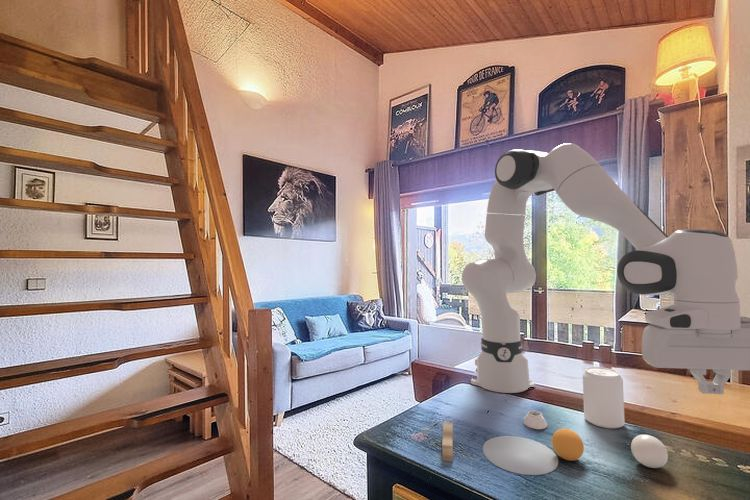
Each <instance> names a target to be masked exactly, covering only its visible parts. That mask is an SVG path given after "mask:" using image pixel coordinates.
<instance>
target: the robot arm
mask: <svg viewBox="0 0 750 500" xmlns="http://www.w3.org/2000/svg"><path fill="white" fill-rule="evenodd" d="M494 177H495V181H494V183H493V184H492V185H491V190H490V193H489V197H488V201H487V207H486V217H485V218H486V219H485V228H484V238H485V240H486V242H487V243H488V244H489V245H491V246H492V249H493V251H494V253H493V254H494V258H489V259H488V258H487V259H486V258H484V259H479V260H474V261H472V262H469V263H467V264H466V265H465V266H464V267H463V270H462V274H461V280H462V284H463V287H464V289H465V290H466V291H467V292H468V293H470V295H472V296H473V298H474V299H475V301H476V303H477V305H478V308H479V312H480V315H481V329H482V331H481V332H482V334H481V335H482V337H481V341H480V350H481V352H480V353H479V354H478V356H477V358H476V357H475V359H474V365H475V366H477V367H476V368H475V370H474V373H477V379H473V378H472V377H471V379H470V384H471V385H474V386H477V387H480V388H482V389H485V390H488V391H491V392H494V393H495V392H496V393H504V394H517V393H522V392H525V391H527V390H529V389H530V388H529V387H532V386H535V387H536V383H535V382H534V381H533V380H531V379H530V374H529V373H530V372H529V371H530V370H529V362H528V358H526V357H525V355H524V354H523V341H522V339H521V322H520V321H521V320H520V315H519V313H518V311H517V310H516V309H514V308H512V306H511V305H510V303H509V300H508V298H507V296H508V294H518V293H522V292H524V291H526V290H529V289H531V288H532V287H533V286H534V285H535V283H536V279H537V272H536V269H535V267H534V266H533V264H532V263H531V262H530V261H529V259H528V257H527V253H526V251H525V246H524V230H525V220H526V211H527V210H526V209H527V203H528V202H527V201H528V199H529V198H530V196H532V195H533V194H534V195H535V196H541V195H544V194H546V193H550V192H554V191H555V193H556V194H557V196H558V197H559V199H560V200H561V201H562V203H563V204H564V205H565V206H566V207H567V208H568V209H569V210H570V211H571V212H573V213H575V215H577V216H579V217H583V218H586V219H590V220H594V221H597V222H600V223H603V224H605V225H608V226H610V227H612V228H614V229H615V230H617V231H618V232H619V233H620V234H622V235H623V237H625V239H626V240H627V242H629V243H630V244H631V245H632V246H633V248H634V249H635V250H632V251H628V252H627V253H625V254H624V255H623V256H622V257H621V258H620V260H619V262H618V264H617V270H616V272H617V273H616V274H617V278H618V280H619V283H620V284H621V286H622V287H623V288H624V289H625V290H627V291H629V292H630V293H632V294H636V295H640V296H665V295H672V296H673V301H674V303H673V304H671V305H668V306H665V307H662V308H658V309H655V310H652V311H651V310H650V311H647V312H646V313H645V315H644V319H645V322H646V323H647V324H648V325H647V326H645V328H644V329H643V331H642V335H641V336H642V337H641V338H642V339H641V356H642V359H643V360H644V361H645V362H646V363H647V365H649V366H652V367H653V368H659V369H660V368H662V369H663V368H664V369H686V370H687V369H688V370H689V371H690V373H691V375H692V376H693V377H694V379H695V381H697V385H698V390H699V392H700V393H701V394H703V395H704V394H706V395H707V394H708V395H709V394H710V395H724V394H725V390H724V389H725V387H724V386H725V385H726V384H727V382H728V380H729V379H730V378H731V371H750V316H741V306H740V305H741V304H740V298H739V295H738V294H737V290H736V283H737V280H738V274H739V273H738V265H737V258H736V257H737V256H736V252H735V248H734V244H733V242H732V240H731V237H730V236H729V235H727V234H726V233H724V232H722V231H719V230H709V229H699V228H698V229H697V228H696V229H695V228H681V229H678V230H675V231H674V232H673V233H672V234H670V235H669V236H668V235H667V234H666V232H664V231H663V229H661V228H660V226H658V225H657V223H655V222H654V221H653V219H652V218H651V217H649V216H648V214H646V213H645V212H644V210H642V209H641V208H640V207H639V206H638V205H637V204H636V203H635V202H634V201H633V200H632V199H631V198H630V197H629V196H628V195H627V194H626V193H625V192H624V190H623V189H621V188H620V186H619V185H618V184H617V183H616V182H615V181H614V179H613V178H612V177H611V176H610V175H609V174H608V172H607V171H606V170H605V168H603V166H602V165H601V164H600V163H599V162H598V161H597V160H596V158H594V157H593V156H592V155H591V154H590V153H588V152H587V150H585V149H584V148H581V146H580V145H577V144H575V143H568V142H567V143H563V144H562V143H561V144H560V145H558V146H556V147H554V148H553V149H552V150H550V151H549V152H545V151H541V150H524V149H512V150H508V151H506V152H503V154H501V155H500V156H499V158H498V159H497V161H496V164H495V168H494ZM707 370H712V371H713V372H714V373H715V376H714V378H713V379H712V381H707V379H706V378H705V377H704V376H706V375H707ZM528 388H529V389H528Z"/></svg>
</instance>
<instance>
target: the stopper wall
mask: <svg viewBox="0 0 750 500" xmlns="http://www.w3.org/2000/svg"><path fill="white" fill-rule="evenodd" d="M442 425H443V426H442V443H441V446H442V447H441V448H442V449H441V450H442V451H441V453H442V461H443V462H450V463H451V462H452V463H453V462H454V433H453V432H454V427H453V425H454V423H453V422H446V421H443V424H442Z"/></svg>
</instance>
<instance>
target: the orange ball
mask: <svg viewBox="0 0 750 500" xmlns="http://www.w3.org/2000/svg"><path fill="white" fill-rule="evenodd" d="M551 445H552V447H553V450H554V453H555V454H556V455H558V456H559V457H560V458H562V459H564V460H565V461H576V460H577V461H578V460H579V459H580V458H581V457H582V456H583V455H584V452H585V446H584V442H583V440H582V438H581V437H580V435H579V434H578V433H576V432H575V431H574V430H572V429H569V428H560V429H557V430H556V431H555V432H554V433H553V435H552V438H551Z"/></svg>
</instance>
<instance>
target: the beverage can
mask: <svg viewBox="0 0 750 500" xmlns="http://www.w3.org/2000/svg"><path fill="white" fill-rule="evenodd" d="M582 391H583V392H582V394H583V396H582V397H583V417H584V420H586V421H587V422H589V423H591V424H592V425H594V426H597V427H600V428H604V429H619V428H622V427H623V426H625V403H624V402H625V398H624V379H623V377H622V376H621V372H619V371H617V370H615V369H612V368H607V367H601V366H588V367H586V368H584V372H583V373H582Z"/></svg>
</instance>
